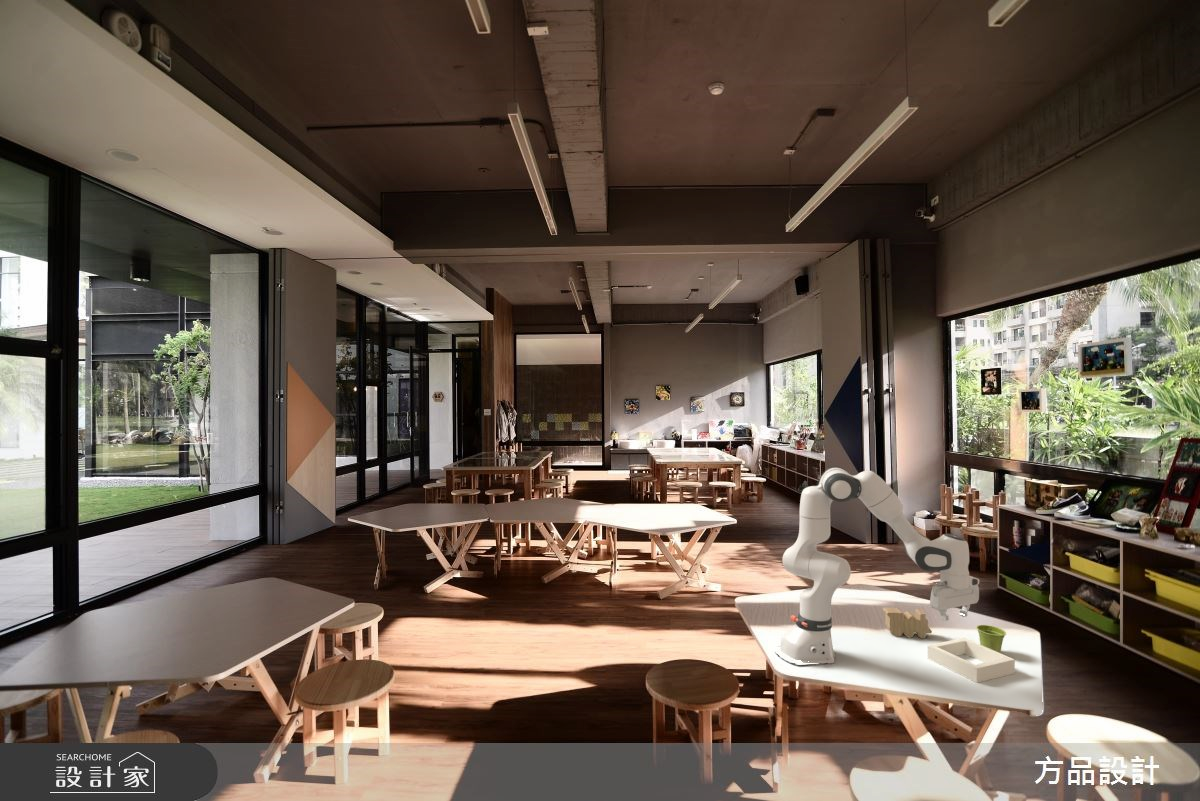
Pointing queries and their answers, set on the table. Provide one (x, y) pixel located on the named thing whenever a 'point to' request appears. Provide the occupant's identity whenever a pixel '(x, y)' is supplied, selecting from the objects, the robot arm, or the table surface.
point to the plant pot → (991, 637)
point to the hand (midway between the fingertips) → (954, 618)
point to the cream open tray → (990, 669)
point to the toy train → (906, 622)
